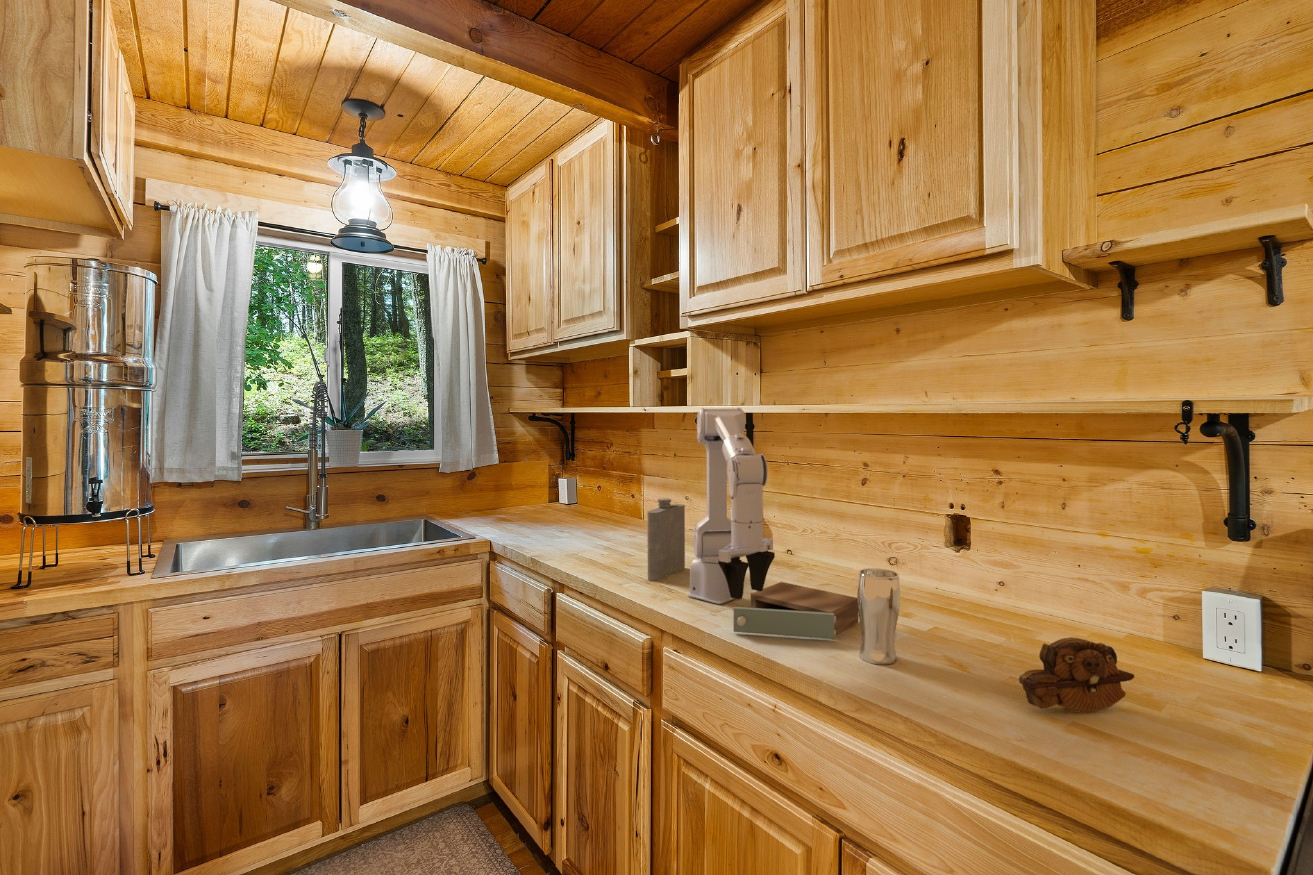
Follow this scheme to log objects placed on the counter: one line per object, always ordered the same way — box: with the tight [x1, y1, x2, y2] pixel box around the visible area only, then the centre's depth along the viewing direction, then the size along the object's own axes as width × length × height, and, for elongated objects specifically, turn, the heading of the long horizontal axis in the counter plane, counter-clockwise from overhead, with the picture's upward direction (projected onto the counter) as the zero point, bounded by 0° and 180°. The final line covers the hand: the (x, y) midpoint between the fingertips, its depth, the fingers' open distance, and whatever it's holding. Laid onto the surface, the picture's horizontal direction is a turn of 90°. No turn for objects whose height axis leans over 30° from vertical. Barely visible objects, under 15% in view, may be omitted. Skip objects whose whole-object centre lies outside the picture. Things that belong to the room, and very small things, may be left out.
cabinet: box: [750, 581, 859, 636], centre depth 128 cm, size 18×12×5 cm, turn 47°
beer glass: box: [856, 567, 901, 666], centre depth 108 cm, size 7×7×15 cm
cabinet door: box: [733, 606, 837, 640], centre depth 118 cm, size 19×2×5 cm, turn 77°
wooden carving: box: [1018, 637, 1135, 714], centre depth 89 cm, size 16×5×10 cm, turn 101°
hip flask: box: [646, 497, 686, 582], centre depth 165 cm, size 16×4×20 cm, turn 148°
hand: (746, 594), depth 115 cm, fingers open, 6 cm apart
